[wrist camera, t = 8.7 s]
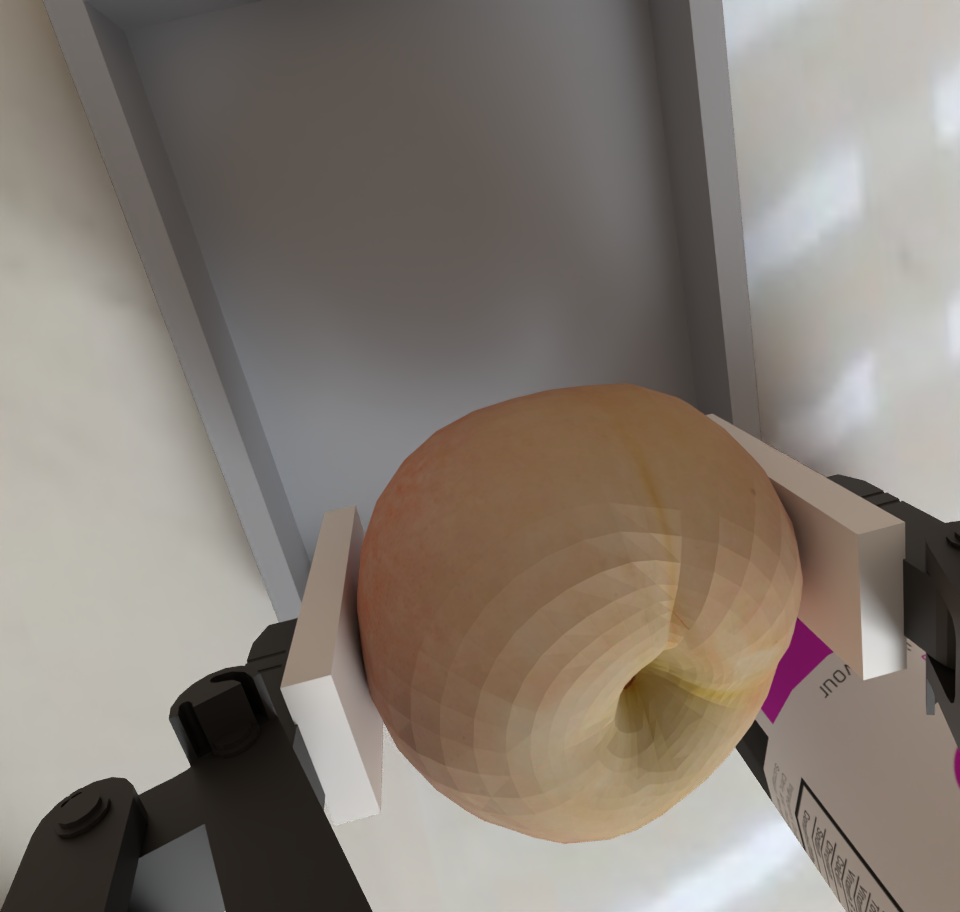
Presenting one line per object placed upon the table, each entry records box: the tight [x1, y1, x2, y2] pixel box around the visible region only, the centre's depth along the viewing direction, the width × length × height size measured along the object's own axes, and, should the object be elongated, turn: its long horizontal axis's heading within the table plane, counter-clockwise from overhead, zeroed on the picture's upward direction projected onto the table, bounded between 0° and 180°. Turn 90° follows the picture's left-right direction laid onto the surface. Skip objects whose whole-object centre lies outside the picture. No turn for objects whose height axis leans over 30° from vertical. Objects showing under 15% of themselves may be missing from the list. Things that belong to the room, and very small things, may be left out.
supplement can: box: [736, 618, 960, 912], centre depth 19 cm, size 8×8×15 cm
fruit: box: [357, 383, 803, 844], centre depth 13 cm, size 8×8×8 cm
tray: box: [43, 0, 761, 623], centre depth 19 cm, size 15×19×3 cm
